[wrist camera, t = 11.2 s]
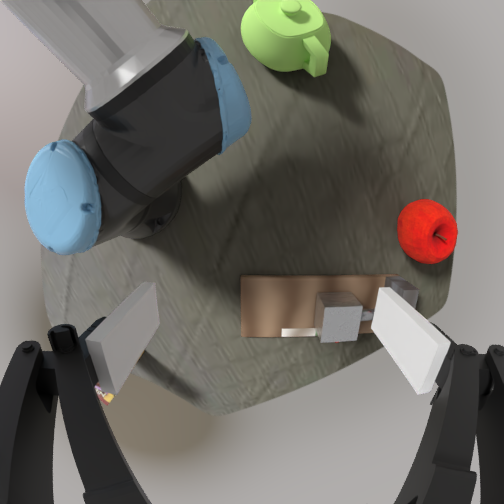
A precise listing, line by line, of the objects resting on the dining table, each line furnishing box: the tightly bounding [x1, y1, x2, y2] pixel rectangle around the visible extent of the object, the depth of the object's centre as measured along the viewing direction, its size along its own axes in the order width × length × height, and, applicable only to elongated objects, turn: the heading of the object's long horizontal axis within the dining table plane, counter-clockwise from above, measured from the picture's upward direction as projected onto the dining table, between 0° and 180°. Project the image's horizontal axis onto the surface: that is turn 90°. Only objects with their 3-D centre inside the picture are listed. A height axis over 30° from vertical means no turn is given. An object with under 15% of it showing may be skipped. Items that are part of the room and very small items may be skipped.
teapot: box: [241, 0, 331, 77], centre depth 30 cm, size 20×13×13 cm
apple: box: [397, 199, 458, 264], centre depth 37 cm, size 10×10×12 cm
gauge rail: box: [241, 274, 419, 337], centre depth 42 cm, size 28×11×8 cm, turn 90°
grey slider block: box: [314, 292, 375, 343], centre depth 42 cm, size 11×7×6 cm, turn 90°
